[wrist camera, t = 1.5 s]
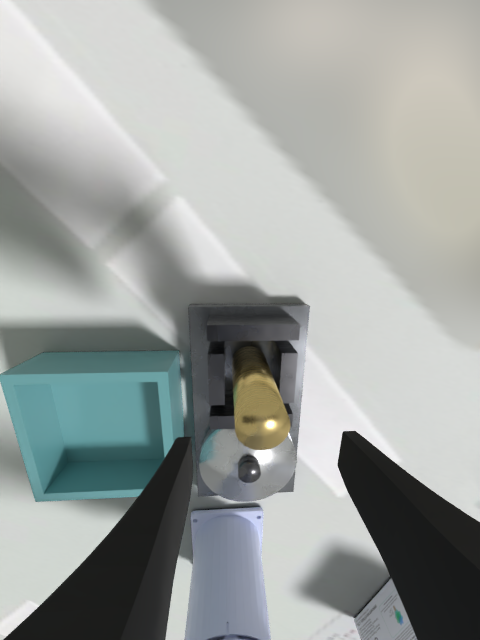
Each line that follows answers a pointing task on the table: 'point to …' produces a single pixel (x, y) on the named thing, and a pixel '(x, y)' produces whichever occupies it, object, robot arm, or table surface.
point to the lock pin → (257, 402)
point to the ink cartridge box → (385, 617)
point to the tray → (94, 420)
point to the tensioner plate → (218, 404)
